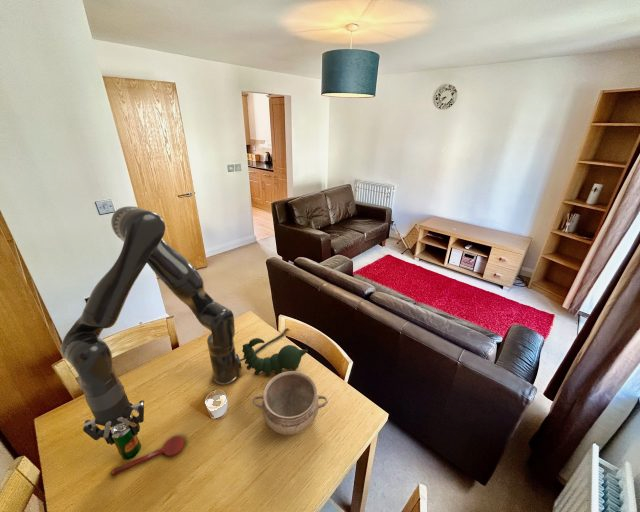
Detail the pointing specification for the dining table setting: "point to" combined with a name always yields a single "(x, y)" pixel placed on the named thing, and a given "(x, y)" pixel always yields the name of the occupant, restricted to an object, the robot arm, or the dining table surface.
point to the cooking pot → (290, 402)
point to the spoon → (156, 453)
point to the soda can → (125, 441)
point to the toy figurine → (272, 358)
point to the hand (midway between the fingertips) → (125, 436)
